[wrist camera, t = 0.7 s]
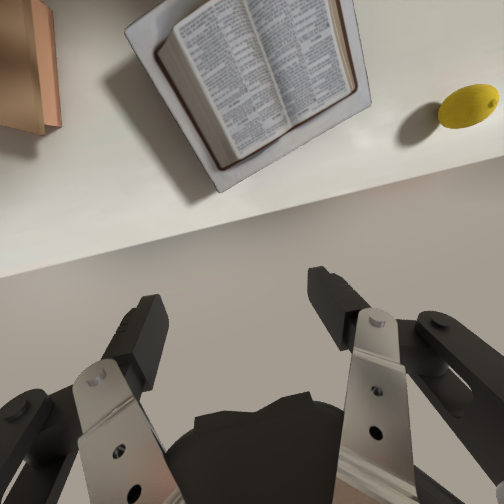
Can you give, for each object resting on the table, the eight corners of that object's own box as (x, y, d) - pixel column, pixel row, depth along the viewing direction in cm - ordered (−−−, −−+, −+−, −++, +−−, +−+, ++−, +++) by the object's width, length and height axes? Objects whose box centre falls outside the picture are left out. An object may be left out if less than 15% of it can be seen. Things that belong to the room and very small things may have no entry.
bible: (120, 4, 25) (71, -71, 17) (333, -68, 26) (395, -180, 17) (199, 193, 36) (194, 207, 27) (349, 141, 36) (392, 139, 28)
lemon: (426, 136, 37) (475, 133, 30) (424, 101, 35) (477, 89, 28) (455, 121, 37) (513, 114, 30) (456, 85, 35) (518, 68, 27)
